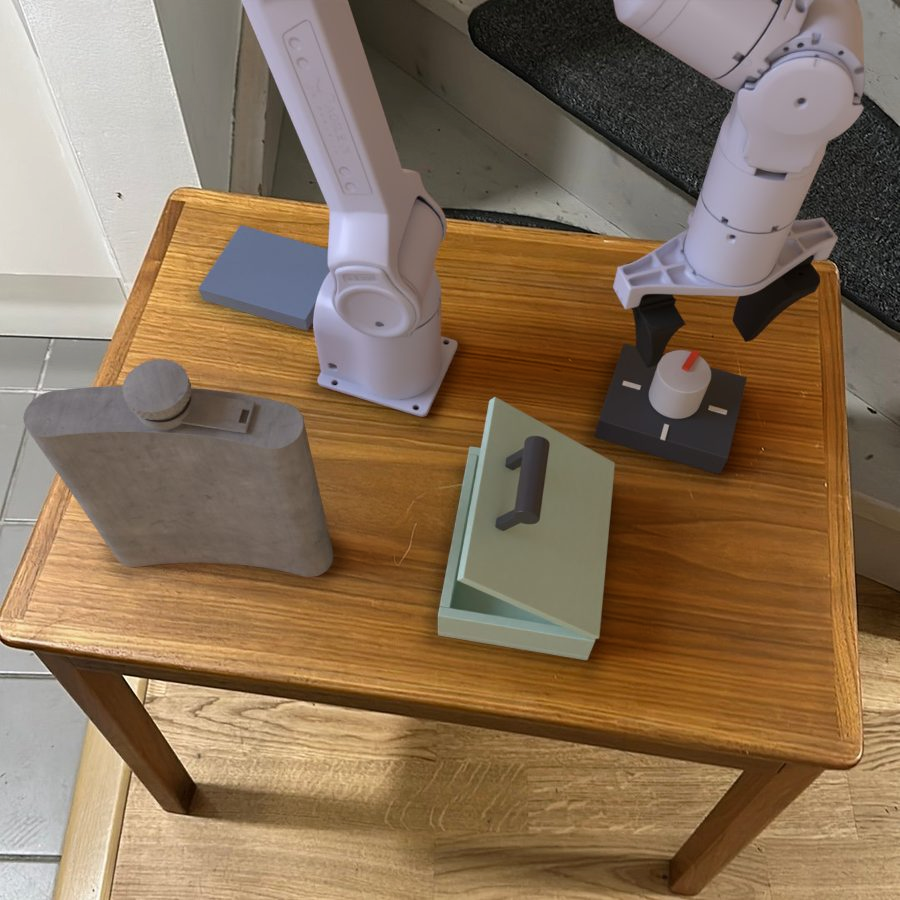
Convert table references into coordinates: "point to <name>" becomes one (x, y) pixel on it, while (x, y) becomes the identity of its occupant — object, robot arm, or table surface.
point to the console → (678, 440)
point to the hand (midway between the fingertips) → (694, 343)
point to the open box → (495, 602)
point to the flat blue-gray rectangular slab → (268, 277)
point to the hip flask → (187, 472)
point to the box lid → (539, 521)
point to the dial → (679, 384)
